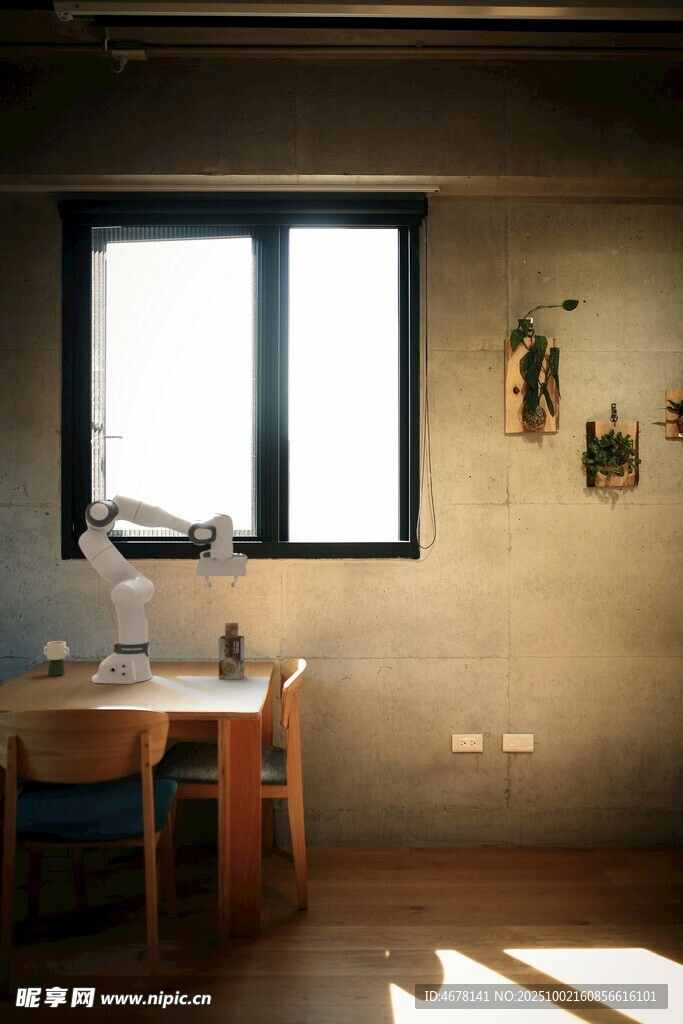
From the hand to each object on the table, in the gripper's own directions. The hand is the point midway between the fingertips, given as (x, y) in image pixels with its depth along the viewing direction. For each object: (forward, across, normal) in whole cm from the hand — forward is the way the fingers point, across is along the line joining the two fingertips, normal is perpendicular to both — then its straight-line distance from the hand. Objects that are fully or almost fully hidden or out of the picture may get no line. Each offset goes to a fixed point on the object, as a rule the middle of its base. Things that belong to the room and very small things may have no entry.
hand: (221, 587), depth 309 cm
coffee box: (+34, -5, +12) cm, 37 cm away
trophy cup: (+35, +64, +3) cm, 73 cm away
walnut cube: (+18, -5, +12) cm, 22 cm away
